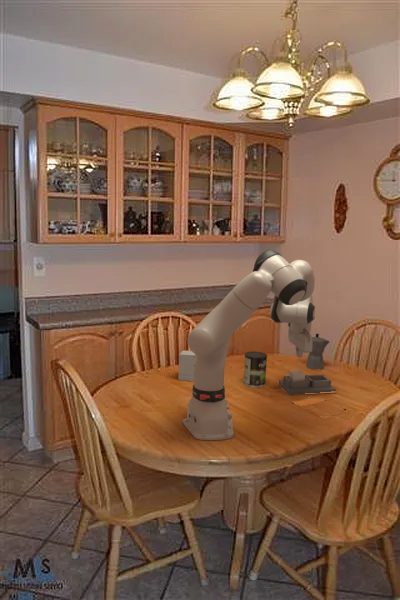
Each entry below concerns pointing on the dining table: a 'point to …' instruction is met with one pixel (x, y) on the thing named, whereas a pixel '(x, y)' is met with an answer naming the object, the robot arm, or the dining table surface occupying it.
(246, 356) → the coffee can
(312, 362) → the coffeepot
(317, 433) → the dining table surface
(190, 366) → the supplement box
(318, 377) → the socket board
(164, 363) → the dining table surface
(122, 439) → the dining table surface
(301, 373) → the plug
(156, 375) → the dining table surface
